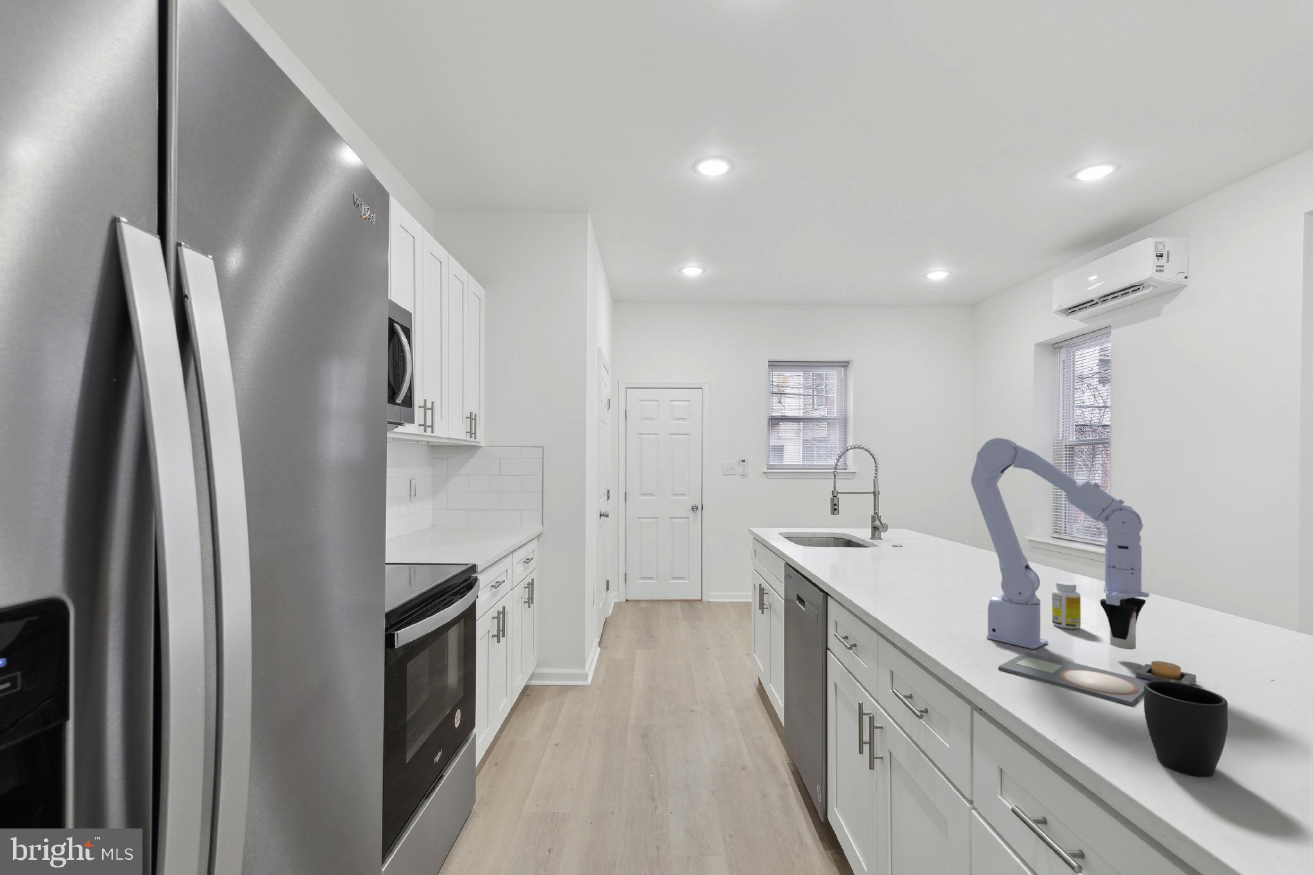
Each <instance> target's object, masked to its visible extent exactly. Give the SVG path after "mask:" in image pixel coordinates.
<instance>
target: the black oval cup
mask: <svg viewBox="0 0 1313 875" xmlns="http://www.w3.org/2000/svg"><path fill="white" fill-rule="evenodd" d="M1228 705H1229V703H1228V700H1227V699H1226V697H1224V696H1222V695H1220V694H1218V693H1216V692H1214V691H1211V690H1209V689H1206V688H1203V687H1199V686H1196V685H1194V686H1192V685H1188V684H1183V683H1182V682H1180V681H1177V680H1170V681H1149V682H1146V683H1145V684H1144V695H1143V709H1144V710H1143V711H1144V718H1145V722H1146V727H1147V730H1148V735H1149V737H1150V741H1151V744H1152V746H1153V749H1154V752H1155V755H1156V759H1157V761H1158V762H1159V763H1160V764H1161V765H1163V766H1165V767H1166V768H1168V769H1171V770H1173V771H1174V772H1178V773H1181V774H1184V775H1187V776H1188V775H1189V776H1193V777H1198V778H1199V777H1200V778H1209V777H1212V776H1214V774H1215V771H1216V768H1217V766H1218V764H1219V762H1220V758H1221V756H1222V754H1223V750H1224V748H1225V744H1226V741H1227V735H1228V728H1229V727H1228V724H1229V722H1228V717H1229V715H1228V714H1229V710H1228V709H1229V708H1228V707H1229V706H1228Z"/></svg>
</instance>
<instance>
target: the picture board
mask: <svg viewBox="0 0 1313 875" xmlns="http://www.w3.org/2000/svg"><path fill="white" fill-rule="evenodd" d="M997 669H998V670H999V671H1001V672H1002V671H1003V672H1006V673H1010V674H1014V675H1017V676H1021V677H1025V678H1028V679H1032V680H1036V681H1040V682H1043V683H1046V684H1050V685H1054V686H1058V687H1061V688H1066V689H1068V690H1072V691H1076V692H1080V693H1082V694H1083V693H1084V694H1085V695H1086V694H1087V695H1091V696H1095V697H1098V698H1102V699H1105V700H1109V701H1113V702H1116V703H1120V704H1124V705H1126V706H1127V705H1128V706H1130V707H1131V706H1133V705H1134V704H1135V703H1136V702H1137V701H1138V700H1139V699H1141V697H1142V696H1144V684H1145V683H1146V682H1149V681H1147V680H1143V679H1139V678H1136V676H1135V677H1134V676H1130V675H1126V674H1122V673H1117V672H1114V671H1110V670H1105V669H1103V668H1102V669H1101V668H1096V667H1093V666H1090V665H1085V664H1080V663H1076V662H1072V661H1068V660H1063V659H1061V658H1060V659H1059V658H1056V657H1052V656H1048V655H1043V654H1040V653H1039V654H1038V653H1036V652H1031V651H1025V652H1023V653H1021V654H1020V655H1017V656H1015V657H1013V658H1012V659H1010V660H1008V661H1006V662H1004V663H1001V664H1000V665H998V667H997Z"/></svg>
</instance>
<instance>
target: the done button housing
mask: <svg viewBox="0 0 1313 875" xmlns="http://www.w3.org/2000/svg"><path fill="white" fill-rule="evenodd" d="M1135 678H1139V679H1143V680H1147V681H1170V680H1177V681H1180V682H1182V683H1183V684H1188V685H1192V686H1196V684H1195V683H1197V675H1196V674H1195V673H1189V672H1185V671H1181V679H1171V678H1167V677H1163V676H1159V675H1154V674H1152V673H1151V664H1148V663H1145V664H1144V665H1142V667H1140V668H1139V669H1138V670H1137V671H1136V672H1135Z"/></svg>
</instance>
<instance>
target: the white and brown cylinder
mask: <svg viewBox="0 0 1313 875" xmlns="http://www.w3.org/2000/svg"><path fill="white" fill-rule="evenodd" d="M1109 632H1110V633H1109V634H1110V635H1109V636H1110V639H1109V644H1110V646H1112V647H1115V648H1119V649H1124V650H1135V649H1136V648H1137V647H1136V646H1137V643H1136V642H1137V622H1136V612H1135V611H1134V613H1133V616H1132V618H1131V622H1130V627H1129V633H1128V636H1127V639H1126V640H1124V639H1119V638H1114V637H1113V636H1112V633H1111V629H1109Z"/></svg>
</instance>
